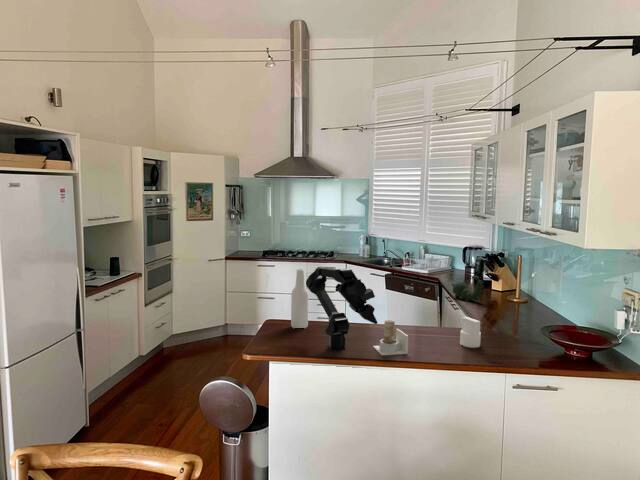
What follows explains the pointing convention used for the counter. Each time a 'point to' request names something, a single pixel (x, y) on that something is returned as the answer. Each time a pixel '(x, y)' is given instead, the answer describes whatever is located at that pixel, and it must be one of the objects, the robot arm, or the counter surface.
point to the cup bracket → (394, 345)
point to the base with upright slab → (470, 332)
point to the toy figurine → (465, 293)
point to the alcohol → (299, 302)
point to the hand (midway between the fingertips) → (373, 320)
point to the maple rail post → (389, 331)
